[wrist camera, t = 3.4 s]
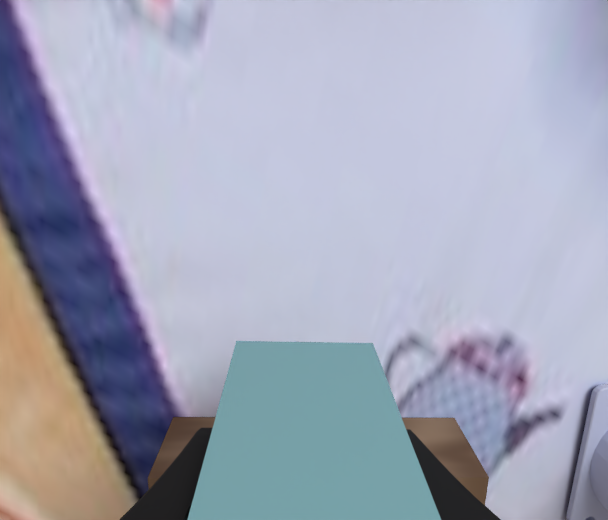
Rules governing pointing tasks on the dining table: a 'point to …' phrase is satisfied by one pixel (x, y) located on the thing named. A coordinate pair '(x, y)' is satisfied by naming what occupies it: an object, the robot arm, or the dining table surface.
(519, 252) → the dining table surface
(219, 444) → the teal post
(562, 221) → the dining table surface
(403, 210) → the dining table surface
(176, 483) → the robot arm
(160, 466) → the walnut slot holder
